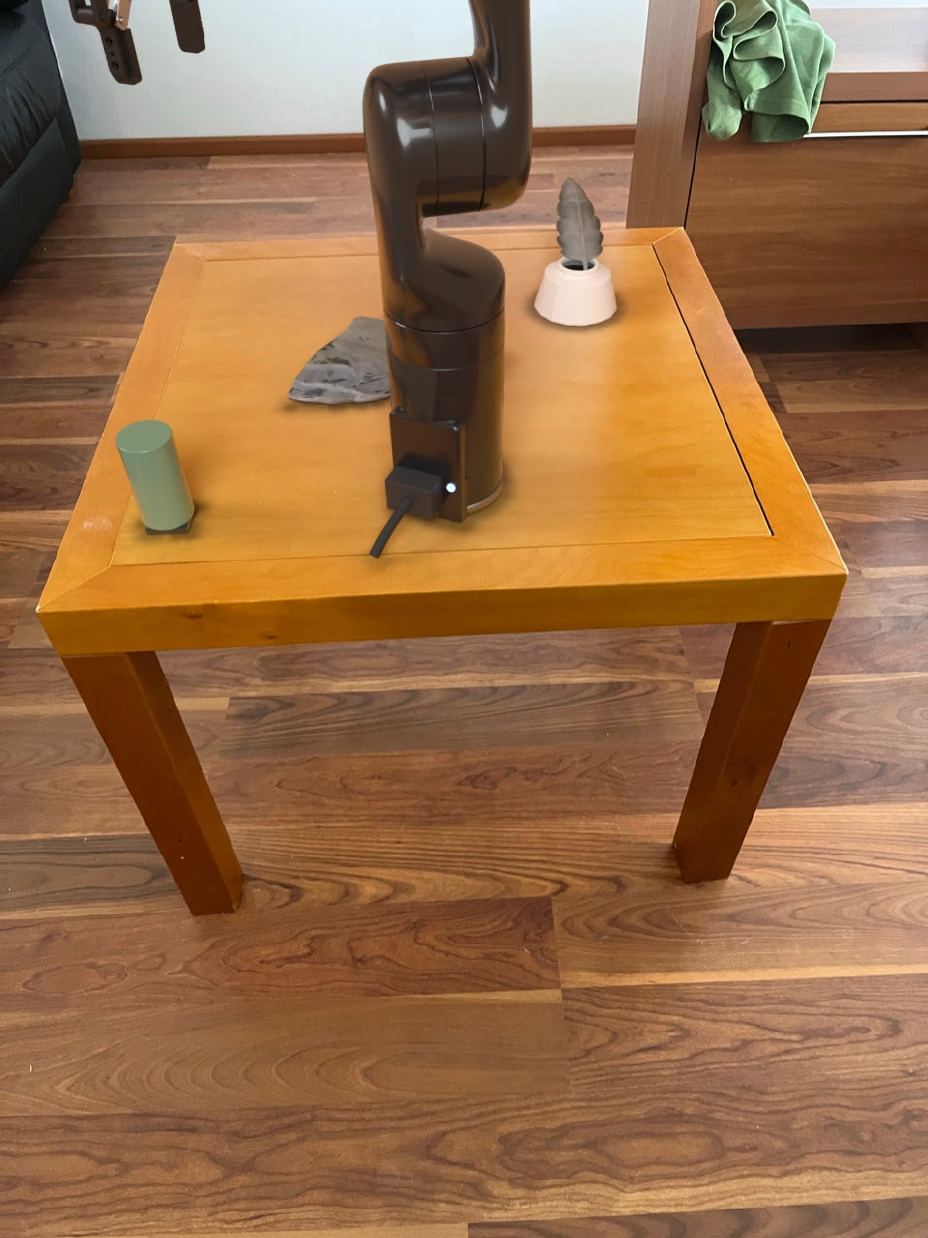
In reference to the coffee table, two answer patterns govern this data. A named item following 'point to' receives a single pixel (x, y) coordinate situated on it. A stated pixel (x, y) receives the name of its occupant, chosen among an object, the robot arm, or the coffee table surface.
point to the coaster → (179, 530)
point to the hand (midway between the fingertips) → (162, 66)
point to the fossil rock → (347, 367)
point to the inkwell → (576, 266)
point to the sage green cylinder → (155, 474)
